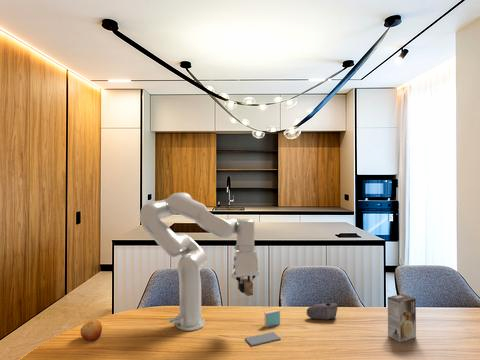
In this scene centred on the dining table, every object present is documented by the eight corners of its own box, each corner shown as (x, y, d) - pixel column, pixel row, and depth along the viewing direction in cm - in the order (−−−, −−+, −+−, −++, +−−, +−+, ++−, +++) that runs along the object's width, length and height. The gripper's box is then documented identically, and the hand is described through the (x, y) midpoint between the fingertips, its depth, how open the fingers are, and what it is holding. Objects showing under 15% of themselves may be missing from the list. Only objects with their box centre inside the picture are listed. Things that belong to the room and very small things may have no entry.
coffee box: (402, 331, 139) (402, 293, 139) (416, 337, 133) (416, 298, 133) (387, 335, 135) (387, 296, 135) (400, 342, 129) (400, 302, 129)
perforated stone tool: (307, 321, 149) (307, 305, 149) (305, 316, 154) (305, 301, 154) (340, 321, 149) (340, 305, 149) (336, 316, 154) (336, 301, 154)
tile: (266, 327, 143) (266, 313, 143) (264, 325, 144) (264, 312, 144) (280, 324, 145) (280, 311, 145) (278, 323, 147) (278, 309, 147)
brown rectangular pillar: (247, 296, 135) (247, 283, 135) (237, 288, 144) (237, 277, 144) (252, 295, 136) (253, 283, 136) (242, 287, 145) (243, 276, 145)
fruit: (109, 330, 137) (102, 317, 133) (97, 347, 131) (90, 335, 127) (94, 327, 140) (86, 315, 136) (82, 344, 133) (73, 332, 129)
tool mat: (251, 346, 126) (251, 344, 126) (245, 339, 132) (245, 337, 132) (280, 339, 132) (280, 338, 132) (273, 333, 137) (273, 331, 137)
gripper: (231, 251, 133) (230, 297, 133) (266, 248, 139) (266, 291, 139) (224, 248, 140) (224, 291, 140) (258, 245, 146) (258, 286, 146)
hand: (245, 291), depth 140 cm, fingers closed on brown rectangular pillar, 2 cm apart
